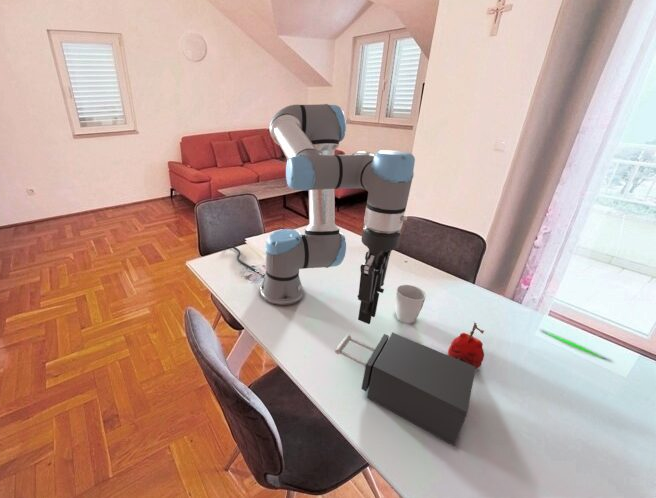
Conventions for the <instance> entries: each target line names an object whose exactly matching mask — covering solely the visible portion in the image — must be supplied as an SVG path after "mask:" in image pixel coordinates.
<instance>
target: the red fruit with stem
mask: <svg viewBox="0 0 656 498" xmlns="http://www.w3.org/2000/svg"><path fill="white" fill-rule="evenodd" d="M475 330H476V331H479V332H480V333H481V334H484V333H485V330H483V329H480V328H479V327H478V325H477V322H473V326H472V330H470V332H469V333H465V332H461V333H460V334H459V335H458V336H456V337H455V338H453V340H452V341H451V343H450V345H449V347H448V349H447V355H448V356H451V357H453V358H456V359H458V360H460V361H463V362H465V363H468V364H470V365H472V366H475V367H476V369H475V371H476V370H477V369H479V368H481V366H482V364H483V361H484V358H485V352H484V348H483V342H482V341H481V340H480V339H478V338H476V337H475V336H473V335H474V334H475Z"/></svg>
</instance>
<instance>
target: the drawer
mask: <svg viewBox="0 0 656 498" xmlns="http://www.w3.org/2000/svg"><path fill="white" fill-rule="evenodd" d="M389 337H390V335H388V334H386V333H383V335H382V336H381V339H380V340H379V341H378V343H377V345H376V347H373V346H370V345H368V344H365V343H364V342H362V341H360V340H357V339H355V338H353V337H352V336H351V335H350V334H346V335H345V336H344V338H343V339H342V340H341V342H339V344H338V345H337V347H336V348H335V350H334V352H335V354H336V355H342V356H344V357H346V358H348V359H350V360H351V361H353V362H356V363H357V364H360V365H363V366H364V371H363V372H364V373H363V378H362V383H361V390H363V391H364V392H368V390H369V385H370V380H371V374H372V369H373V365H374V364H375V362H376V360H377V358H378V357H379V355H380V353H381V351H382V350H383V348H384V346H385V344H386V343H387V341H388V339H389ZM349 342H352V343H354V344H357V345H359V346H361V347H363V348H365V349H367V350H369V351H371V352H372V353H371V355H370V357H369V358H368V360H367V362H366V361H363V360H361V359H359V358H358V357H355V356H353V355H351V354H350V353H347V352H346V351H343V350H344V349H345V348H346V346H347V345H348V344H349Z"/></svg>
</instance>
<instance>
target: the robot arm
mask: <svg viewBox="0 0 656 498" xmlns="http://www.w3.org/2000/svg"><path fill="white" fill-rule="evenodd" d="M346 131H347V120H346V116H345V113H344V111H343V109H342V108H341V107H340V106H339V105H337V104H328V103H323V104H291V105H287V106H285V107H283V108H281V109H280V110H278V111H277V112H276V113H275V114H274V115H273V116H272V118H271V120H270V123H269V135H270V138H271V139H272V142H274V143H275V144H276V145H277V146H279V147H280V150H281V151H282V153H283V155H284V156H285V159H286V160H287V161H286V165H285V180H286V184H287V186H288V188H289V189H290V190H292V191H304V192H308V225H307V226H305V228H304V234H301V232H300V231H299V230H297V229H291V228H284V229H279V230H278V229H277V230H275V231H273V232H272V233H270V234H269V235H268V237H267V238H266V240H265V241H266V242H265V249H264V250H265V273H263V274H264V275H263V276H262V277H263V279H262V282H261V285H260V296H261V298H262V299H263V300H264V301H266V302H267V303H269V304H272V305H276V306H291V305H294V304H296V303H298V302H299V301H301V300H302V298H303V295H304V287H303V284H302V282H301V277H300V270H304V269H317V268H318V269H320V268H325V269H326V268H327V269H328V268H333V267H334V268H335V267H338V266H340V265H341V264H342V262H343V261H344V259H345V257H346V253H347V241H346V236H345V235H344V233H343V232H341V231H340V227H339V226H338V225H336V220H335V219H336V216H335V215H336V212H335V209H336V206H335V204H336V201H335V198H336V197H335V195H336V194H335V190H344V189H345V190H347V189H362V190H364V191H366V192H367V200H366V206H365V211H364V216H363V217H364V218H363V224H364V225H363V227H362V234H361V243H362V245H364V246H365V247H366V248H367V249H368V251H366V252H365V256H364V260H365V263H361V265H360V266H359V267H360V268H359V269H360V276H359V277H360V278H359V285H358V294H357V300H358V301H360V304H359V311H358V318H357V320H358V321H360V322H362V323H364V324H367V325H370V324H371V321H372V318H375V317H376V314H377V308H378V303H379V297H380V294H383V293H384V291H385V289H384V288H383V286H384V285H385V278H386V275H387V270H388V265H389V261H390V256H391V252H392V251H394V250H396V249H398V247H399V245H400V241H401V236H402V231H401V230H402V228H403V224H404V222H407V221H408V217H407V216H406V215H405V214H406V209H407V205H408V200H409V197H410V191H411V187H412V182H413V179H414V176H415V175H414V174H415V173H414V171H415V162H416V158H415V156H414V154H413V153H411V152H407V151H402V150H391V149H390V150H379V151H377V152H375V153H372V152H370V151H356V152H353V153H352V154H335V151H336V150H338V148H339V147H340V143H341V142H342V141H343V140H344V138H345V136H346ZM226 248H227V249H229V248H232V249H234V250H235V251H237V253H238V254H237V256H236V261H237V262H238V263H239V264H241V265H242V266H244V267H246V268H248V269H250V270H251V271H253V270H257V269H256V268H254V267H252V266H250V265H249V264H247V263H245V262H244V261H242V260H240V256H241V250H240V249H239V248H238V247H236V246H234V245H231V244H230V245H227V247H226ZM251 267H252V268H251Z"/></svg>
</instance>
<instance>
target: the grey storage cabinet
mask: <svg viewBox="0 0 656 498" xmlns="http://www.w3.org/2000/svg"><path fill="white" fill-rule="evenodd" d="M475 369H476V367H475V366H472V365H470V364H468V363H465V362H463V361H460V360H458V359H456V358H453V357H451V356H448V354H445V353H444V352H441V351H439V350H436V349H434V348H432V347H429V346H427V345H424V344H422V343H420V342H417V341H414V340H412V339H411V338H407V337H405V336H403V335H400V334H398V333H395V332H391V334H390V335H389V338H388V341H387V343H386V344H385V346H384V348H383V350H382V351H381V353H380V355H379V357H378V358H377V360H376V362H375V364H374V365H373V369H372V374H371V380H370V385H369V388H368V389H367V395H366V398H367V399H369V400H370V401H372V402H374V403H376V404H378V405H379V406H381V407H383V408H385V409H386V410H388V411H390V412H392V413H393V414H396V415H397V416H399V417H401V418H403V419H405V420H407V421H408V422H410V423H412V424H413V425H415V426H417V427H419V428H421V429H422V430H424V431H426V432H428V433H430V434H432V435H433V436H435V437H437V438H439V439H440V440H442V441H444V442H445V443H447V444H449V445H451V446H452V447H455V445H456V443H457V440H458V437H459V435H460V433H461V430H462V427H463V424H464V423H465V420H466V417H467V414H468V411H469V406H470V401H471V397H472V389H473V385H474V379H475V375H476V370H477V369H476V370H475Z"/></svg>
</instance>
